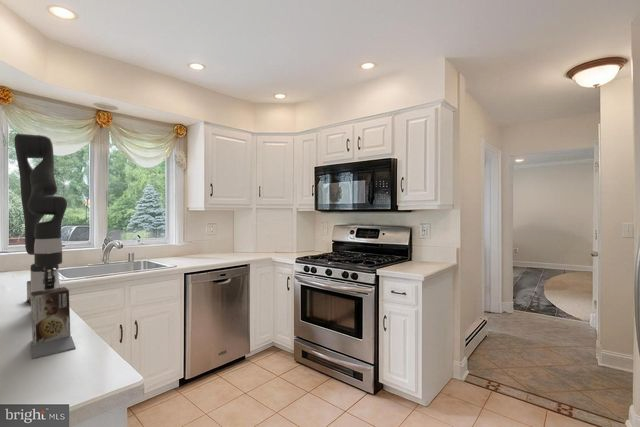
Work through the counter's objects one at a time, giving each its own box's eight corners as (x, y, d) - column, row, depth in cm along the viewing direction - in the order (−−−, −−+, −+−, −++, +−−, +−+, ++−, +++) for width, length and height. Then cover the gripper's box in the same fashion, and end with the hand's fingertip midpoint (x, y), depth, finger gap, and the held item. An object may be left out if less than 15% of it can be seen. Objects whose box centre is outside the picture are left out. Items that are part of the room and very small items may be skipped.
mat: (31, 346, 100) (31, 345, 100) (71, 337, 107) (71, 336, 107) (32, 359, 92) (32, 357, 92) (75, 348, 98) (75, 347, 98)
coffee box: (65, 331, 112) (65, 286, 112) (70, 336, 108) (70, 289, 108) (31, 340, 105) (30, 291, 105) (35, 345, 101) (34, 294, 101)
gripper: (33, 250, 115) (34, 298, 115) (34, 254, 105) (35, 306, 105) (60, 248, 120) (61, 294, 120) (63, 251, 110) (64, 301, 110)
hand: (49, 299), depth 113 cm, fingers closed
